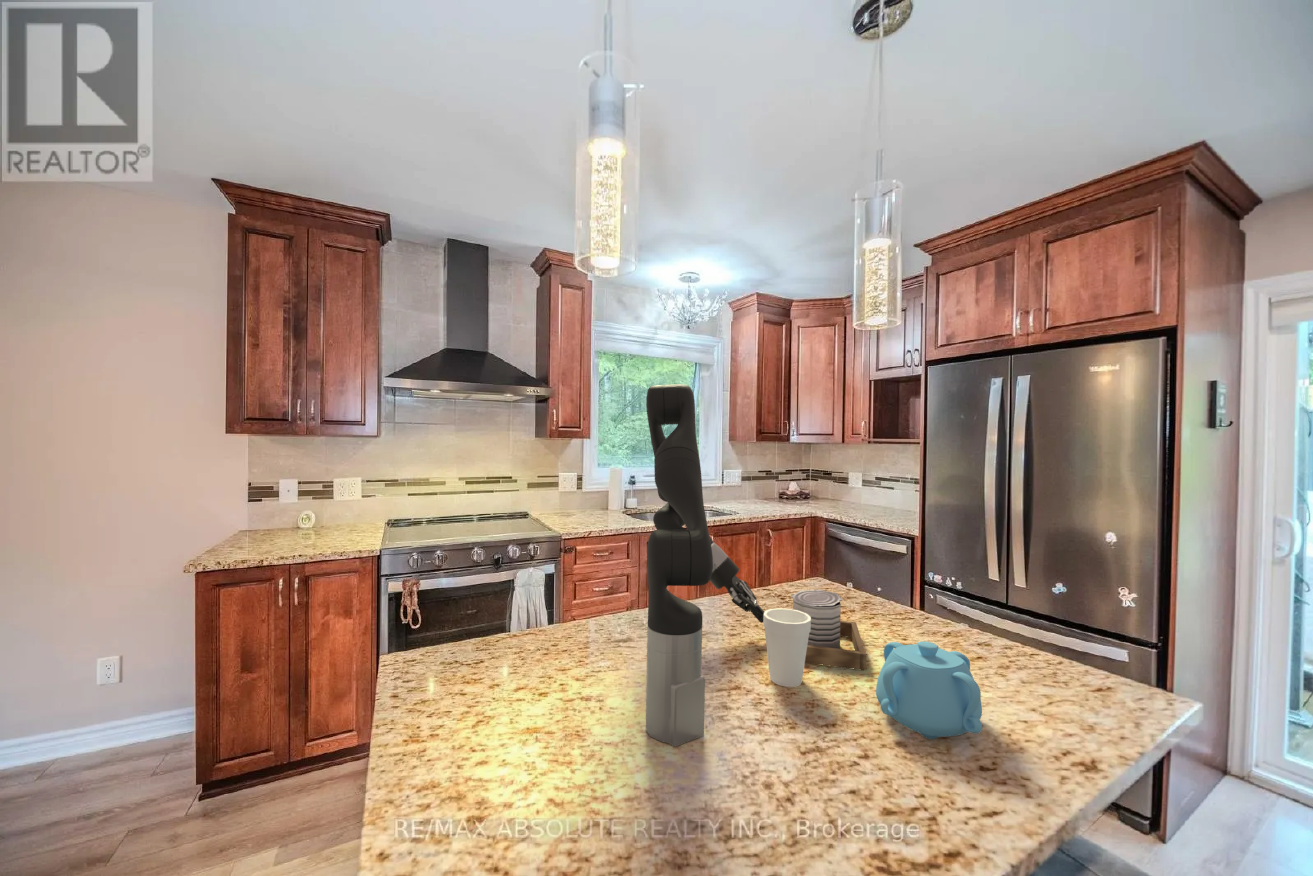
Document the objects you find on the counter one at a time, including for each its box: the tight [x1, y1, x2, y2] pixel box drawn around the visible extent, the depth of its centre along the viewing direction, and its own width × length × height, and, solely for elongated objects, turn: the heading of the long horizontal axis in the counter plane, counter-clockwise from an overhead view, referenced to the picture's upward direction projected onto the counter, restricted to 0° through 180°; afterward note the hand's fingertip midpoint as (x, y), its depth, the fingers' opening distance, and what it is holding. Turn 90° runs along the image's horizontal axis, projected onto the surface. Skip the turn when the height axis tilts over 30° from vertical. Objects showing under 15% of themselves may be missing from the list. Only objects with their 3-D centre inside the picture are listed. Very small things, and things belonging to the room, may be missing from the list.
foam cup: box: [762, 607, 811, 688], centre depth 104 cm, size 10×9×13 cm
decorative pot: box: [875, 640, 983, 740], centre depth 89 cm, size 16×16×14 cm
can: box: [790, 589, 844, 649], centre depth 122 cm, size 11×11×12 cm
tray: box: [805, 620, 867, 671], centre depth 121 cm, size 20×20×4 cm
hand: (764, 619), depth 125 cm, fingers closed
